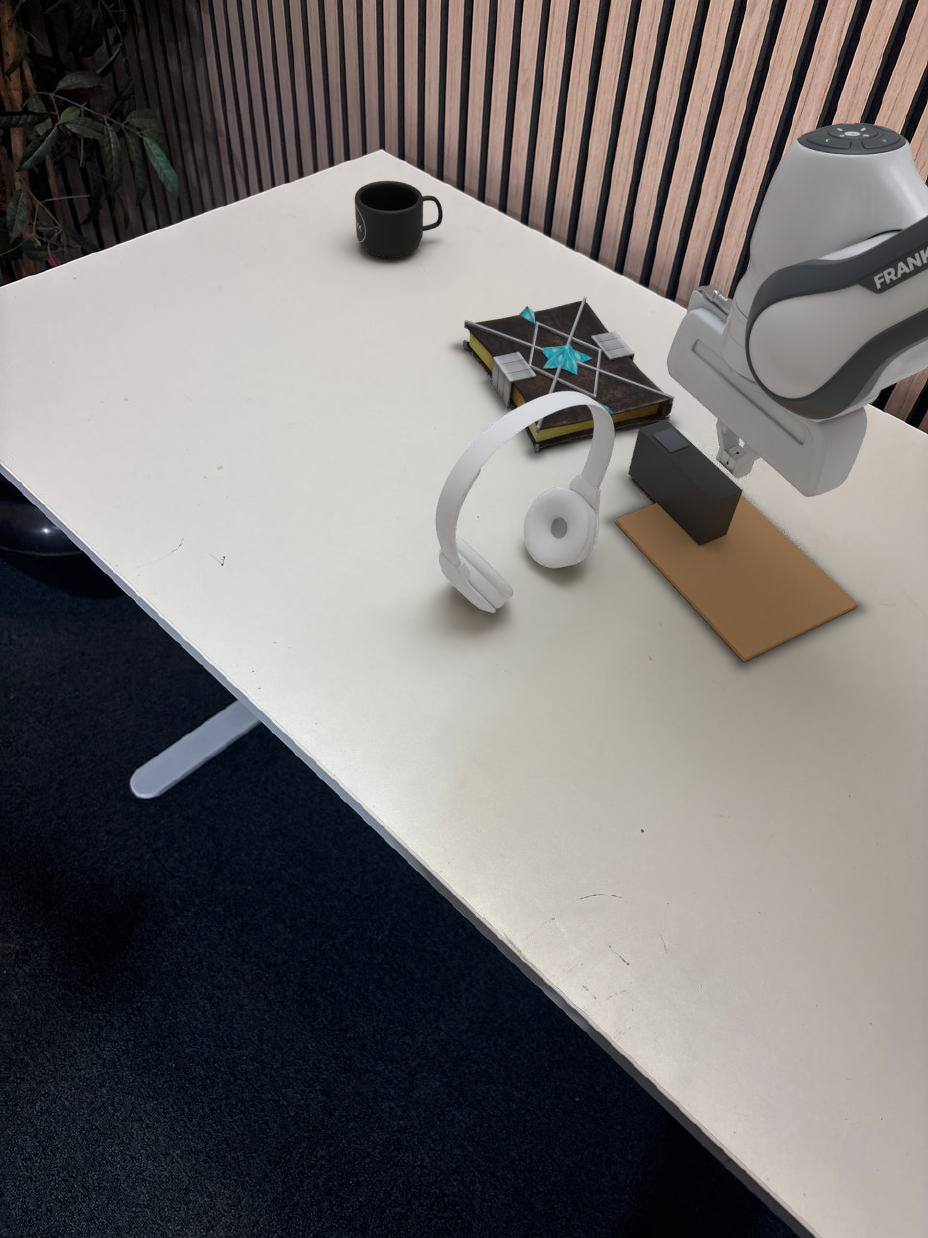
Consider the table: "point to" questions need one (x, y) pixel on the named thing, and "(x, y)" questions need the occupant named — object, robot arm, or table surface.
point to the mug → (391, 218)
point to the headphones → (554, 520)
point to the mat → (741, 577)
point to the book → (565, 369)
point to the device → (684, 482)
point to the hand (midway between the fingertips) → (732, 467)
